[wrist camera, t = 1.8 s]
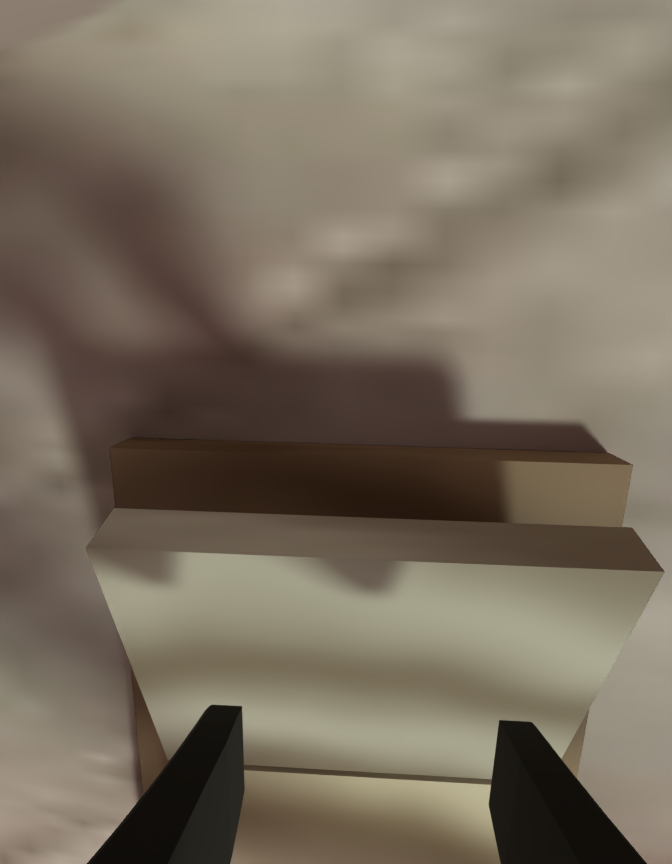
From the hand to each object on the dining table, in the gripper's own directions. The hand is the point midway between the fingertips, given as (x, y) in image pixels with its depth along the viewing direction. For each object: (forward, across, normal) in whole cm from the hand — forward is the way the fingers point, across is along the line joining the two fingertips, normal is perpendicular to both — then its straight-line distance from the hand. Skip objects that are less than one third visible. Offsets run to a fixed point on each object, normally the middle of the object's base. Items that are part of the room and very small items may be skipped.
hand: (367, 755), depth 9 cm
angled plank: (+6, 0, +2) cm, 6 cm away
